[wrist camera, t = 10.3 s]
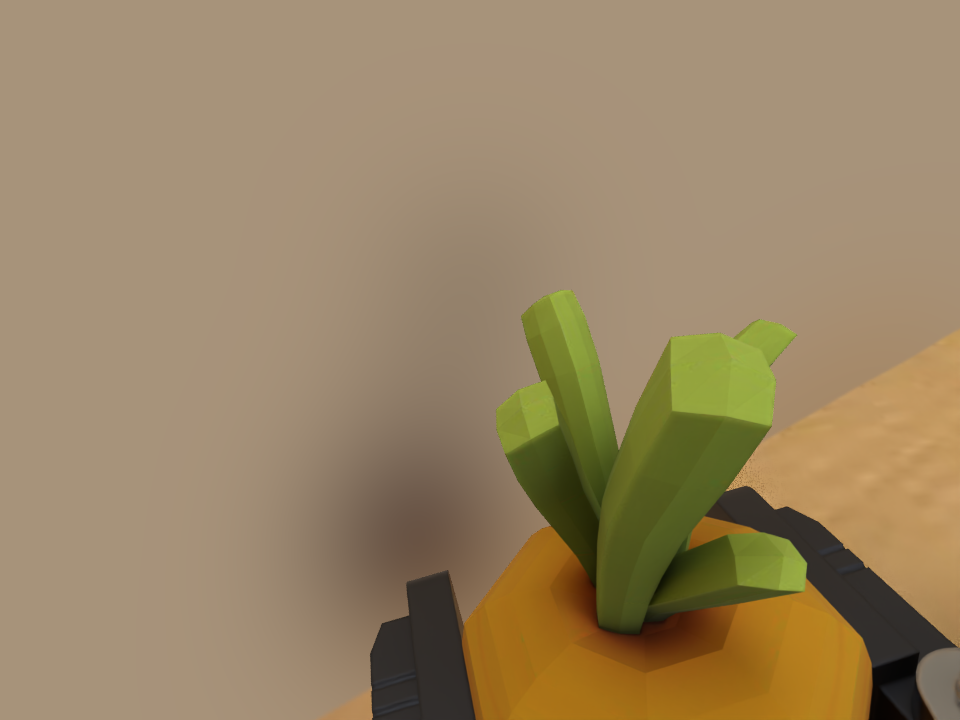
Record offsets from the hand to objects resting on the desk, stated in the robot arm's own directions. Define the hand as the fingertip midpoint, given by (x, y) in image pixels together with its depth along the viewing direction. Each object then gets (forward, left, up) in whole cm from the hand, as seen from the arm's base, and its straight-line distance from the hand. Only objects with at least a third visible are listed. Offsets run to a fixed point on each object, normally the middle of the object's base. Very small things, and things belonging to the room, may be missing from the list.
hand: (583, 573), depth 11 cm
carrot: (0, +3, -9) cm, 10 cm away
